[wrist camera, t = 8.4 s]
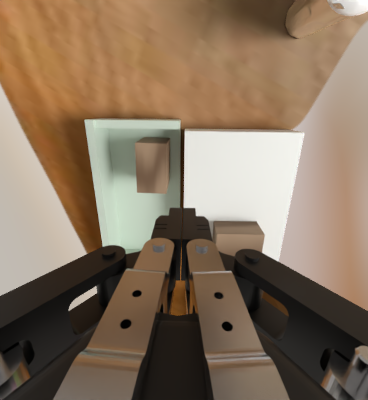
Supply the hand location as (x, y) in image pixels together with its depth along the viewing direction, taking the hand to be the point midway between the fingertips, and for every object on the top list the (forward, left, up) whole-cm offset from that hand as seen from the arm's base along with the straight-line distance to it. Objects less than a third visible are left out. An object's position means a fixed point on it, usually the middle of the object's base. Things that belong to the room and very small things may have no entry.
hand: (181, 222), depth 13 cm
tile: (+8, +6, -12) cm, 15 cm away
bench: (+4, +6, -15) cm, 17 cm away
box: (+4, -5, -15) cm, 16 cm away
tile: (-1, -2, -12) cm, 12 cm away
